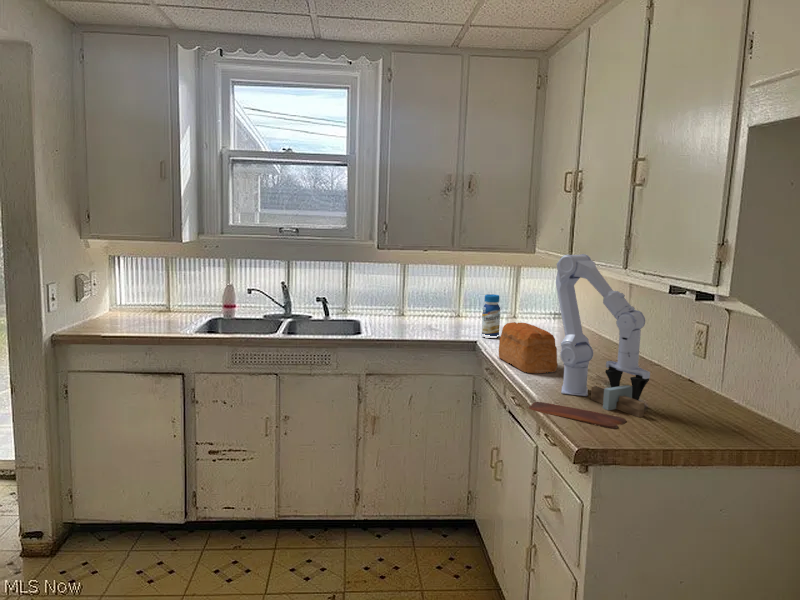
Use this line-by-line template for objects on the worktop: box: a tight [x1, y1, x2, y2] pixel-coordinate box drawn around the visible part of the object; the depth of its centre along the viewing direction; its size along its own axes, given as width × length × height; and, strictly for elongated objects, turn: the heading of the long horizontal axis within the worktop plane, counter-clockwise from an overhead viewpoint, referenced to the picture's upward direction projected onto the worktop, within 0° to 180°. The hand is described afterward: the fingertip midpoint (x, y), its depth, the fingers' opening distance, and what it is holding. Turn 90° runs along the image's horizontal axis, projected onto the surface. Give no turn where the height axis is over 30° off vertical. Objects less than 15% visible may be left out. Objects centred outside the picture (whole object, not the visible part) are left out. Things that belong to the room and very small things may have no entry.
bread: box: [498, 321, 559, 374], centre depth 222 cm, size 14×27×15 cm, turn 14°
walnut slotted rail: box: [590, 385, 646, 418], centre depth 173 cm, size 18×2×4 cm, turn 28°
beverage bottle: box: [481, 293, 501, 336], centre depth 273 cm, size 8×8×20 cm
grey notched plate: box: [602, 384, 632, 411], centre depth 173 cm, size 10×2×6 cm, turn 118°
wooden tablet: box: [528, 401, 627, 430], centre depth 166 cm, size 27×10×2 cm, turn 52°
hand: (625, 396), depth 174 cm, fingers open, 7 cm apart
